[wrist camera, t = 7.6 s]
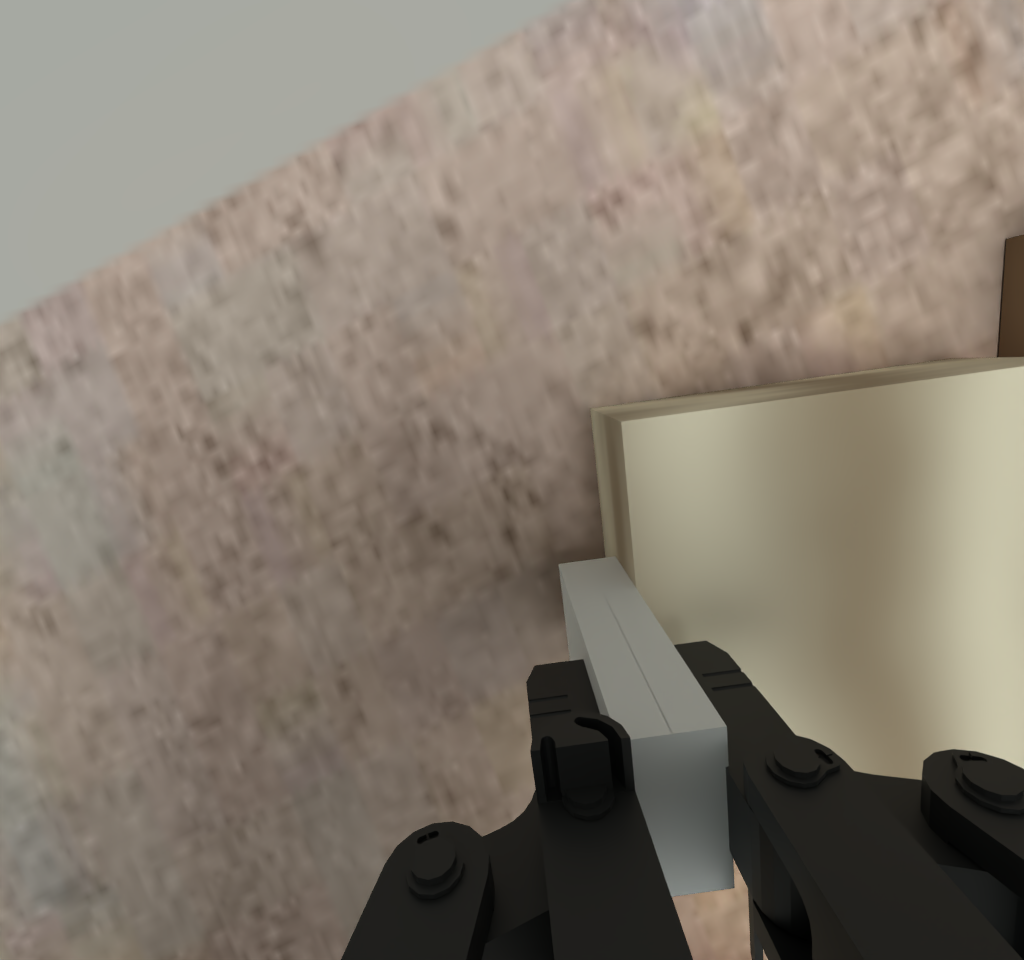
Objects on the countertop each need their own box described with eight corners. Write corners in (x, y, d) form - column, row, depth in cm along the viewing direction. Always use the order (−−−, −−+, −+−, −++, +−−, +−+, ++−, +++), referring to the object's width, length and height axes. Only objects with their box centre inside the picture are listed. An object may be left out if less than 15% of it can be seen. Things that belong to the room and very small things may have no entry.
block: (619, 718, 17) (657, 825, 13) (587, 407, 15) (621, 421, 11) (928, 675, 17) (1060, 769, 13) (941, 358, 15) (1104, 355, 11)
